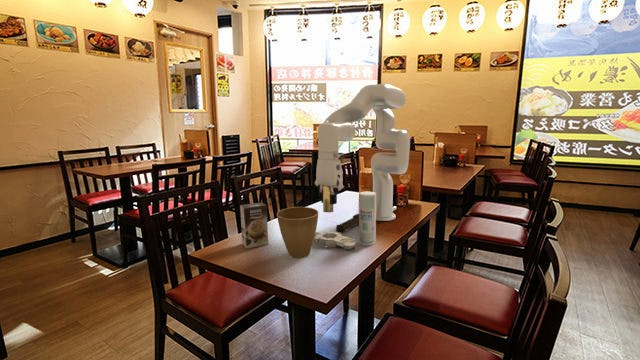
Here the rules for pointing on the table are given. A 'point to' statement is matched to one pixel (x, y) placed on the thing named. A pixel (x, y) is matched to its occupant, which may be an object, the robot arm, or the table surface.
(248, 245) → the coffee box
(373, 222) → the spray can
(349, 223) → the brown wooden stick
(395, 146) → the robot arm
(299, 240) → the plant pot
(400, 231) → the table surface
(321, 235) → the two-arm fidget spinner
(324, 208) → the brass pin
